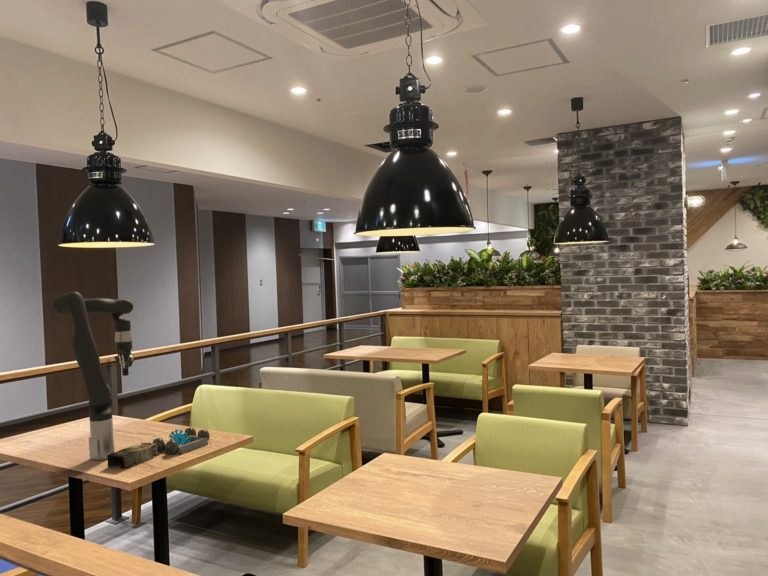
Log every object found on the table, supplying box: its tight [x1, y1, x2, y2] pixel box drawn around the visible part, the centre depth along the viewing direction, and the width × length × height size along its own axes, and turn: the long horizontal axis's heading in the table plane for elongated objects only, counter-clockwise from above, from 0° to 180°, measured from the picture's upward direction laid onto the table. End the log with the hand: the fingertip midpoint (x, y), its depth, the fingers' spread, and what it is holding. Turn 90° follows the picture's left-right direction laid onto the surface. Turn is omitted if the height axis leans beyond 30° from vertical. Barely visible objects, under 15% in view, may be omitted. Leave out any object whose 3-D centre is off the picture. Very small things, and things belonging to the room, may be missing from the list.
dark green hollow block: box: [106, 442, 159, 469], centre depth 253 cm, size 20×10×6 cm, turn 157°
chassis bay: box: [151, 426, 211, 455], centre depth 270 cm, size 20×16×6 cm
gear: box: [168, 429, 191, 446], centre depth 272 cm, size 11×6×10 cm
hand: (125, 375), depth 284 cm, fingers closed
